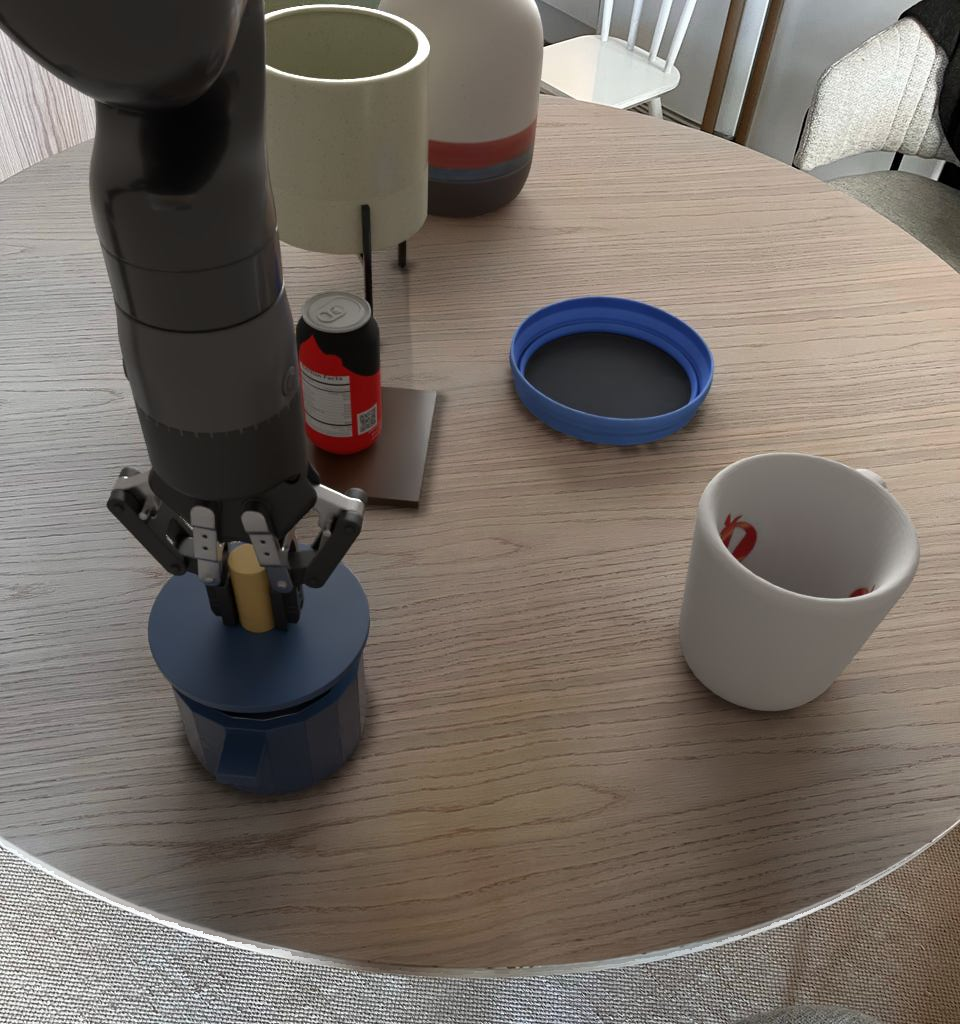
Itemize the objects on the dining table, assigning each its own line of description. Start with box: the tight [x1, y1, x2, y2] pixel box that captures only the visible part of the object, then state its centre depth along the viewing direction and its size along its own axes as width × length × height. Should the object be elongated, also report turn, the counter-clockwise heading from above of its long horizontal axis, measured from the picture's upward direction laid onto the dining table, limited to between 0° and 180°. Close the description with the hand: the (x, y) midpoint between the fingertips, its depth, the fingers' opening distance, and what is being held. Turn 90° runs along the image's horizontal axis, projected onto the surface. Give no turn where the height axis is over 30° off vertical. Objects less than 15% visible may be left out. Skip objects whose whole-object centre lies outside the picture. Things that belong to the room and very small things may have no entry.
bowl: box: [508, 295, 715, 446], centre depth 91 cm, size 18×18×4 cm
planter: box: [265, 4, 430, 317], centre depth 89 cm, size 15×16×23 cm
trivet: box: [306, 385, 438, 510], centre depth 85 cm, size 14×14×1 cm
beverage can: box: [295, 290, 382, 455], centre depth 80 cm, size 6×6×12 cm
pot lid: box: [147, 541, 371, 713], centre depth 58 cm, size 13×13×6 cm
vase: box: [376, 0, 545, 220], centre depth 103 cm, size 17×17×24 cm
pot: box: [170, 651, 367, 795], centre depth 65 cm, size 12×17×7 cm
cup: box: [678, 451, 921, 712], centre depth 69 cm, size 18×14×14 cm
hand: (259, 616), depth 59 cm, fingers closed on pot lid, 2 cm apart
